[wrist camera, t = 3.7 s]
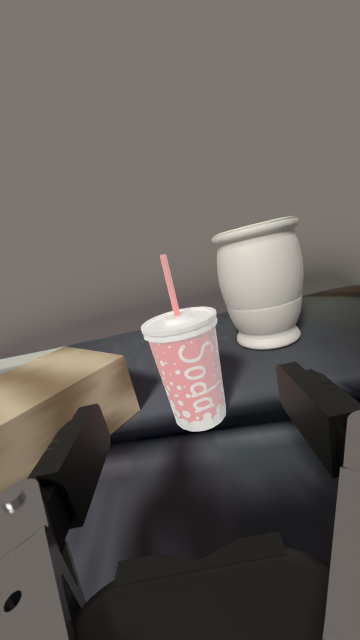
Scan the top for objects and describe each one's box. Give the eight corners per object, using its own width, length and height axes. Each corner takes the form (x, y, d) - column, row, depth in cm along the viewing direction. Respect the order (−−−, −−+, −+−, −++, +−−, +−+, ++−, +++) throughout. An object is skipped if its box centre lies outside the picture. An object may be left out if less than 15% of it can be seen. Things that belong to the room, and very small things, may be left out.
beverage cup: (165, 445, 19) (112, 265, 15) (168, 399, 25) (131, 262, 21) (243, 430, 18) (207, 243, 15) (228, 387, 24) (200, 245, 21)
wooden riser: (80, 388, 32) (65, 346, 30) (140, 410, 24) (123, 355, 23) (-32, 455, 23) (-62, 402, 22) (3, 523, 16) (-39, 447, 14)
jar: (245, 325, 41) (230, 233, 37) (314, 324, 35) (305, 213, 31) (218, 353, 33) (195, 239, 29) (302, 357, 27) (287, 214, 23)
